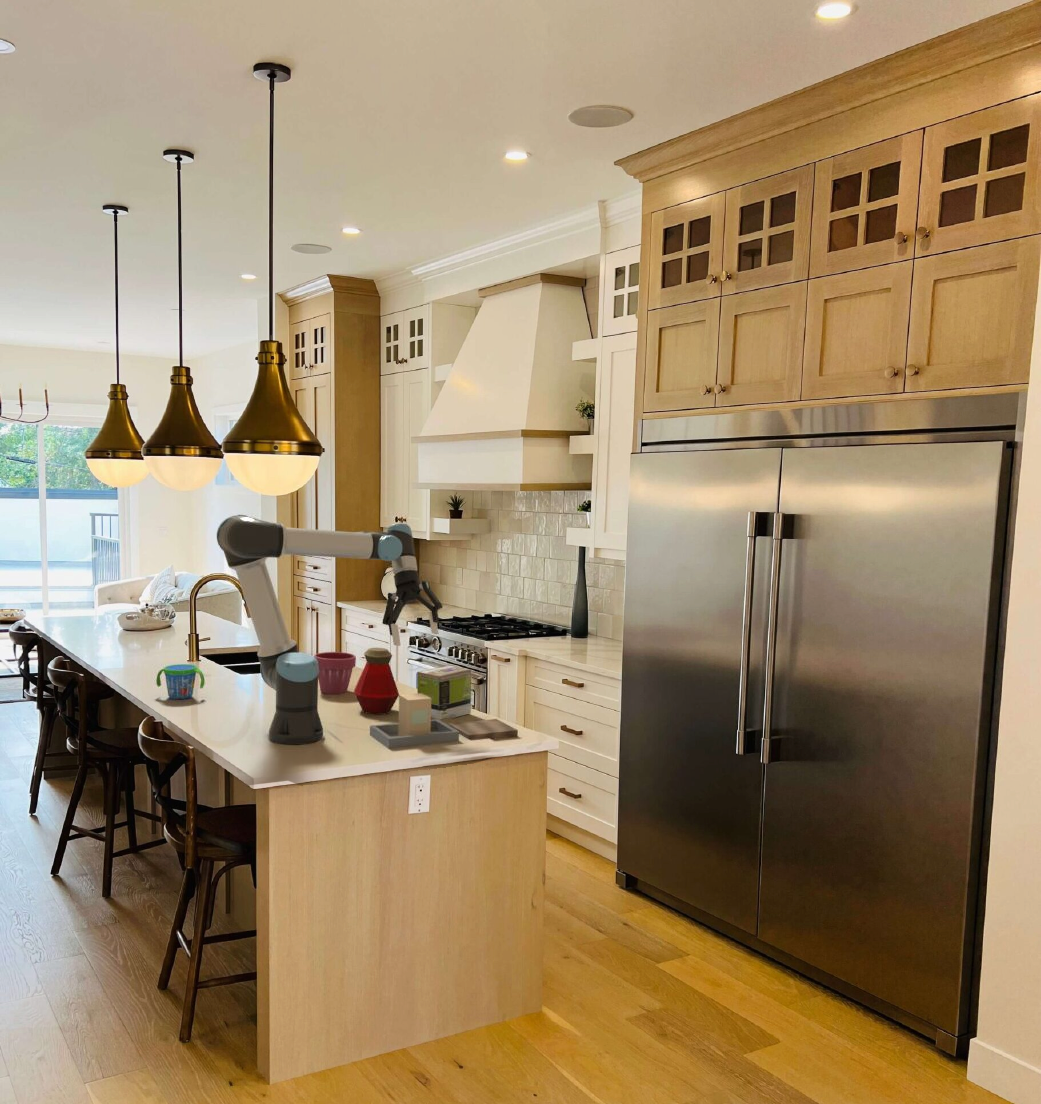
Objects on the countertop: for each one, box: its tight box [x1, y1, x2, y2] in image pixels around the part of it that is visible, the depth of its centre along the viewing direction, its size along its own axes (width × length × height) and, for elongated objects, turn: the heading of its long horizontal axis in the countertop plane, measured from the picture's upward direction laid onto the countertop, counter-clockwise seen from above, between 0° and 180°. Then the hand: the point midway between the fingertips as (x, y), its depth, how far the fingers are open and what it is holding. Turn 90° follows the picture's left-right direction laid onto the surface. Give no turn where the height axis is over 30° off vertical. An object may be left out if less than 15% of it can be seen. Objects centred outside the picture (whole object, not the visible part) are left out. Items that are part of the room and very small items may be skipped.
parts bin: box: [369, 718, 460, 750], centre depth 277 cm, size 21×15×4 cm
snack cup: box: [155, 663, 205, 700], centre depth 318 cm, size 16×10×10 cm
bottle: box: [353, 647, 400, 715], centre depth 309 cm, size 16×14×20 cm
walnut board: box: [448, 718, 519, 740], centre depth 287 cm, size 16×14×2 cm
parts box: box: [397, 692, 432, 737], centre depth 276 cm, size 7×7×12 cm
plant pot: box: [313, 651, 357, 695], centre depth 335 cm, size 14×14×13 cm
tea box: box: [416, 665, 472, 721], centre depth 307 cm, size 15×10×15 cm, turn 141°
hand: (416, 639), depth 291 cm, fingers open, 13 cm apart
